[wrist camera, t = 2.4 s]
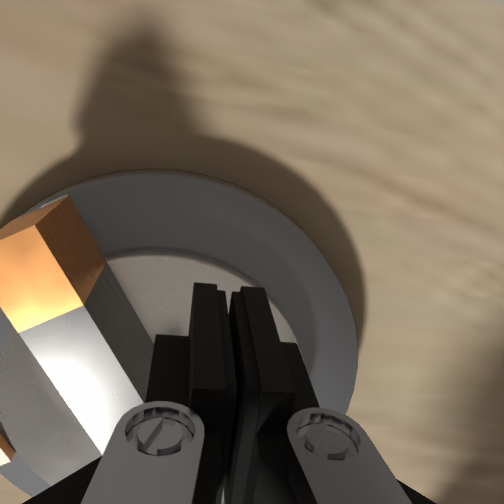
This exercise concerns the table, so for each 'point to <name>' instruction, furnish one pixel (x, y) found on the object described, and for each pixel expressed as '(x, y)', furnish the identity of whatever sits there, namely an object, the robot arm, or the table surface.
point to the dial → (88, 331)
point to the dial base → (223, 248)
